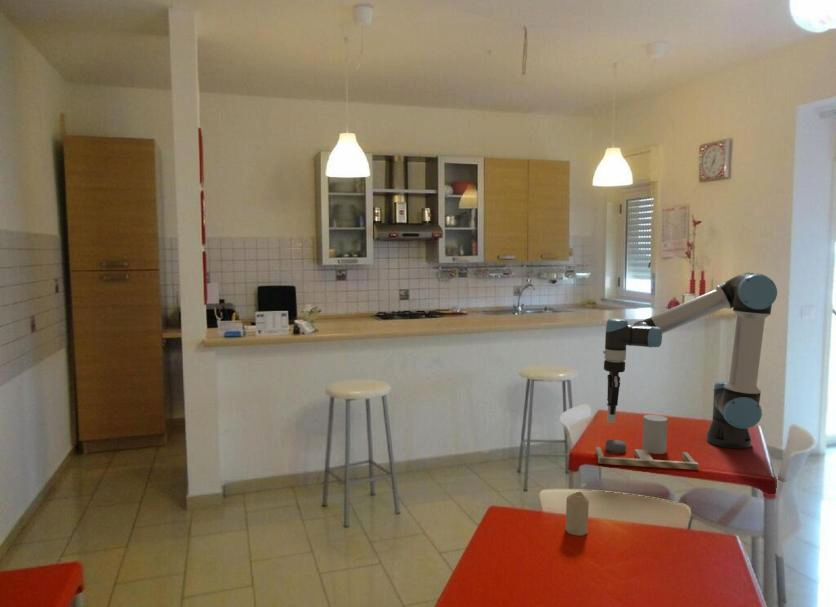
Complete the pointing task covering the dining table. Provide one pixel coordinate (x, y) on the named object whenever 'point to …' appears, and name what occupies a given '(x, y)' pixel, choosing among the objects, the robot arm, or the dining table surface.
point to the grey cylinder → (654, 434)
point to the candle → (577, 514)
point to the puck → (615, 446)
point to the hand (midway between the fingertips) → (611, 422)
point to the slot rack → (647, 460)
